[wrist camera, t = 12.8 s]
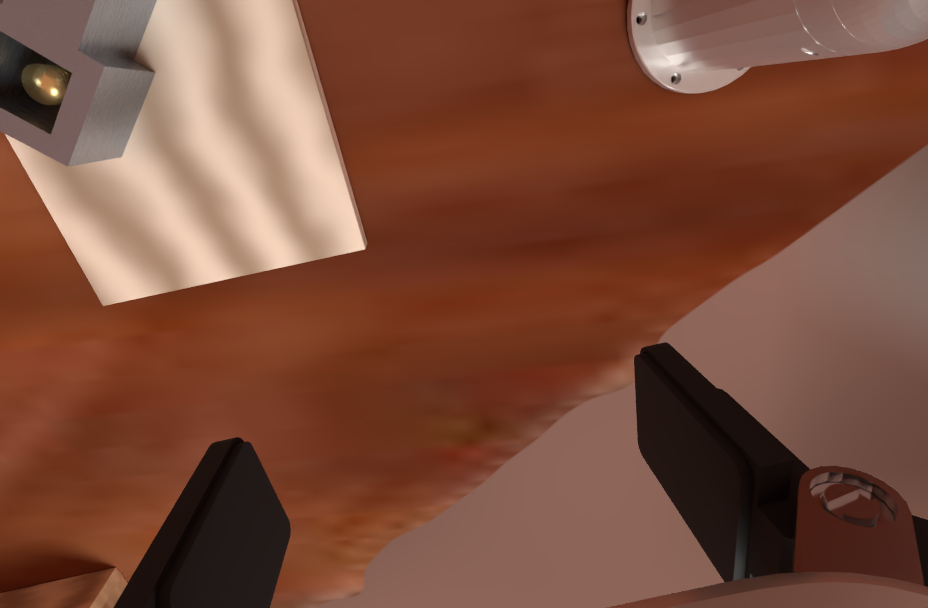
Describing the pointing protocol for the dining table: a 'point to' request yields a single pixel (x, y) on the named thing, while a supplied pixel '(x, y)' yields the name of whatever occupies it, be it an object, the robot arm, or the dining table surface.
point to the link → (75, 75)
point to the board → (210, 159)
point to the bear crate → (70, 592)
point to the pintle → (46, 83)
